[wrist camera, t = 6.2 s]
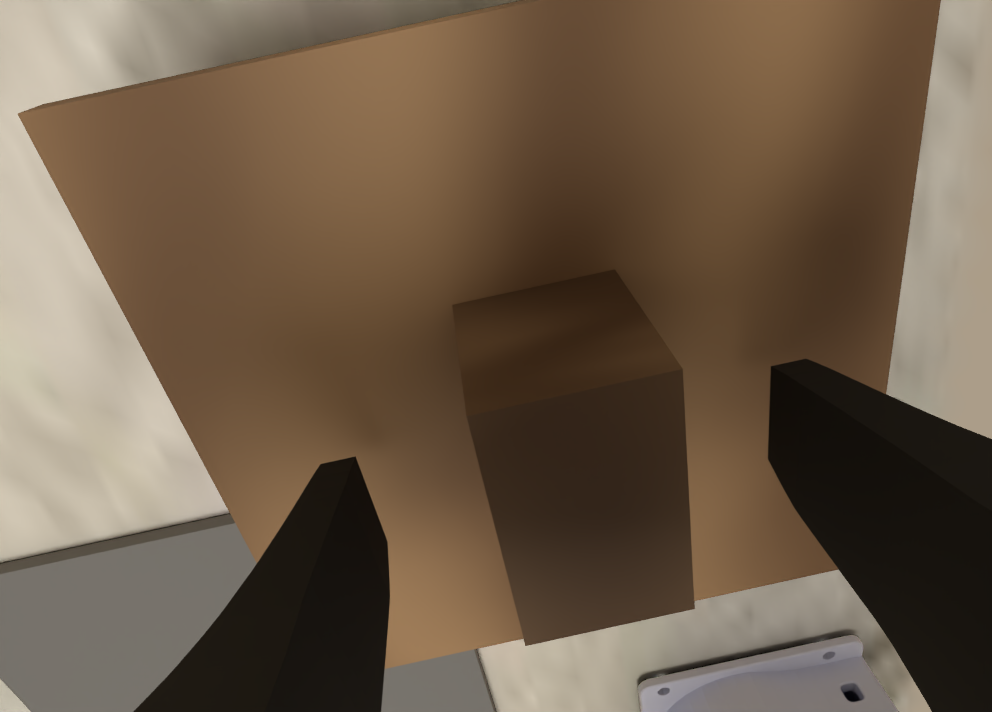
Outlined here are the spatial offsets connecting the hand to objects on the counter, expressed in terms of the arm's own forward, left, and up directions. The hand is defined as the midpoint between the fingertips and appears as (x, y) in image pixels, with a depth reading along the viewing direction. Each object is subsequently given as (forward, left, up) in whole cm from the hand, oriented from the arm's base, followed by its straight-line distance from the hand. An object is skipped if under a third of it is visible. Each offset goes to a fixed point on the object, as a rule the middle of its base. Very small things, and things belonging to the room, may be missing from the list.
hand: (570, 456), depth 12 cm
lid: (0, 0, -3) cm, 3 cm away
